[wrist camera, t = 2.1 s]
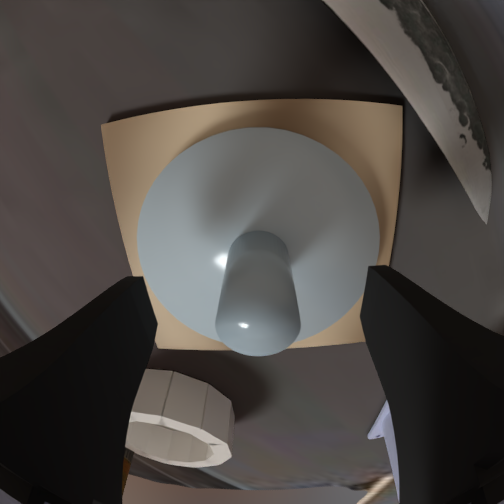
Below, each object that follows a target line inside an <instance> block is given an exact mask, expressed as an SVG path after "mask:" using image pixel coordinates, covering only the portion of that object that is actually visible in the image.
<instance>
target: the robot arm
mask: <svg viewBox="0 0 504 504" xmlns="http://www.w3.org/2000/svg"><path fill="white" fill-rule="evenodd" d="M360 320H361V324H362V329H363V333H364V336H365V340H366V344H367V346H368V349H369V352H370V354H371V357H372V360H373V362H374V365H375V368H376V370H377V373H378V376H379V378H380V381H381V384H382V387H383V389H384V392H385V395H386V398H387V400H386V402H385V404H384V406H383V408H382V410H381V412H380V414H379V416H378V418H377V419H376V421H375V423H374V425H373V427H372V428H371V430H370V432H369V434H368V439H375V438H379V437H384V438H385V442H386V446H387V450H388V454H389V458H390V463H391V467H392V471H393V476H394V480H395V485H396V490H397V495H398V500H399V504H504V336H502V335H500V334H497V333H495V332H493V331H491V330H489V329H487V328H485V327H483V326H482V325H480V324H478V323H476V322H474V321H472V320H471V319H469V318H467V317H465V316H464V315H462V314H460V313H459V312H457V311H456V310H454V309H452V308H451V307H449V306H448V305H446V304H444V303H443V302H441V301H440V300H438V299H437V298H435V297H434V296H432V295H431V294H430V293H428V292H427V291H425V290H424V289H422V288H421V287H419V286H418V285H416V284H415V283H414V282H412V281H411V280H409V279H408V278H406V277H405V276H403V275H402V274H400V273H399V272H397V271H396V270H394V269H392V268H391V267H389V266H387V265H375V266H368V271H367V278H366V284H365V290H364V295H363V301H362V306H361V311H360ZM157 326H158V322H157V319H156V316H155V313H154V310H153V307H152V304H151V301H150V297H149V294H148V291H147V288H146V284H145V281H144V277H143V276H127V277H125V278H124V279H122V280H120V281H119V282H117V283H116V284H114V285H113V286H111V287H110V288H108V289H107V290H106V291H104V292H103V293H102V294H100V295H99V296H97V297H96V298H95V299H93V300H92V301H91V302H89V303H88V304H87V305H85V306H84V307H83V308H81V309H80V310H79V311H77V312H76V313H74V314H73V315H72V316H70V317H69V318H67V319H66V320H64V321H63V322H62V323H60V324H59V325H58V326H56V327H55V328H53V329H52V330H50V331H48V332H47V333H45V334H44V335H42V336H40V337H39V338H37V339H35V340H34V341H32V342H30V343H28V344H27V345H25V346H23V347H21V348H19V349H17V350H15V351H13V352H11V353H9V354H7V355H5V356H3V357H1V358H0V504H122V476H123V460H124V452H125V444H126V437H127V431H128V426H129V420H130V415H131V411H132V407H133V404H134V401H135V398H136V395H137V392H138V389H139V386H140V383H141V380H142V378H143V375H144V372H145V369H146V366H147V364H148V361H149V358H150V355H151V352H152V349H153V345H154V341H155V336H156V331H157Z"/></svg>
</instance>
